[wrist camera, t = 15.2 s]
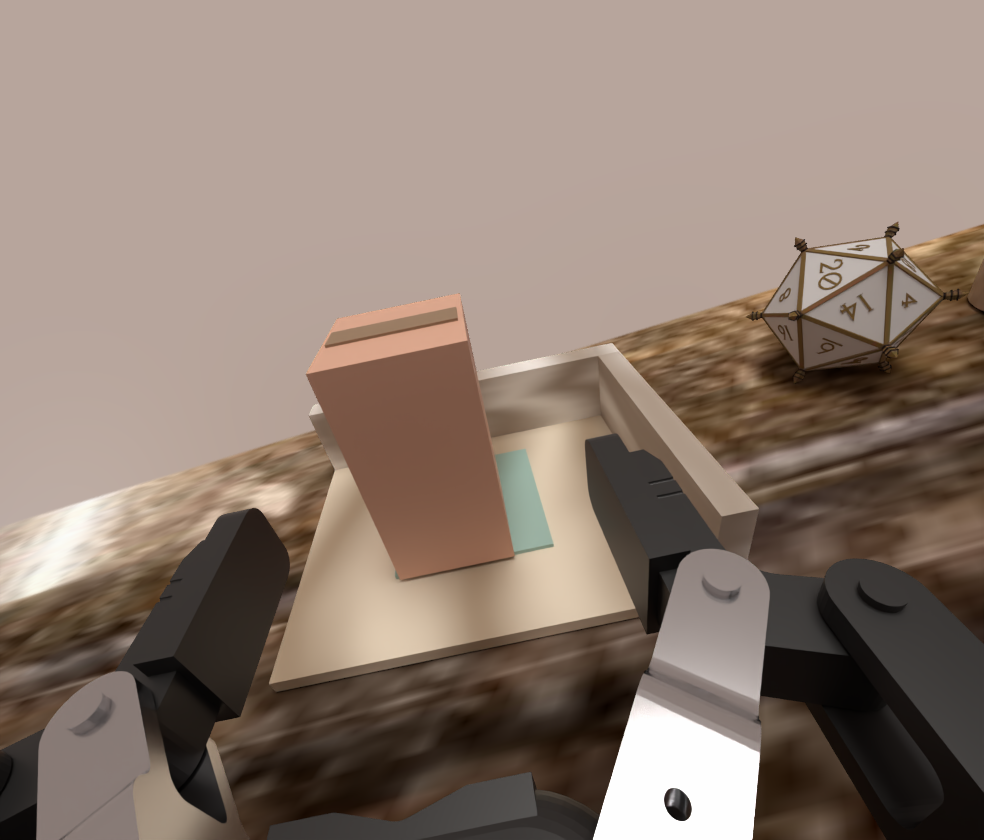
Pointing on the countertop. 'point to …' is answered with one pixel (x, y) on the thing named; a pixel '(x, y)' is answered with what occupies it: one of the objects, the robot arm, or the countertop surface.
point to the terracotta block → (415, 433)
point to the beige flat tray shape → (532, 522)
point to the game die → (850, 304)
